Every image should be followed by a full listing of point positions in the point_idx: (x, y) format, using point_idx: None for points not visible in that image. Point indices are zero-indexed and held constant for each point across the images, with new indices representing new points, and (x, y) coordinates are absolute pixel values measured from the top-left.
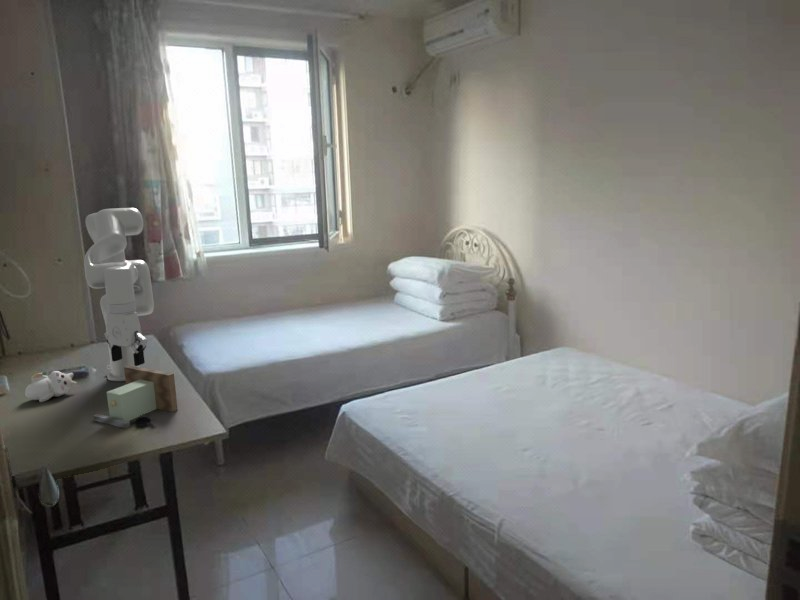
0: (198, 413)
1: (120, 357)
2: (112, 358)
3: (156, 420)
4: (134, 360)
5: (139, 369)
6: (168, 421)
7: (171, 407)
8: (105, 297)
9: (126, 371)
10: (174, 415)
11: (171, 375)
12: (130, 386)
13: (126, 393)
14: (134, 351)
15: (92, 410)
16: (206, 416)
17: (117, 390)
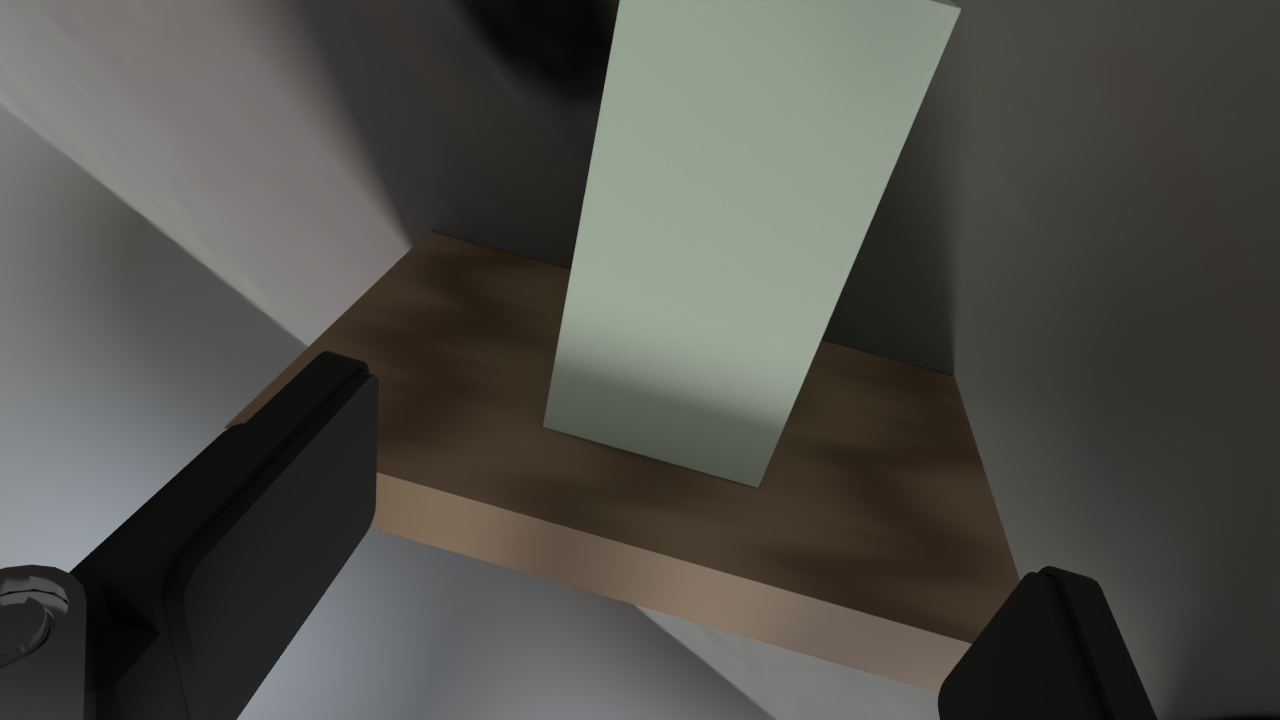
0: (229, 234)
1: (960, 700)
2: (1101, 627)
3: (427, 42)
4: (279, 429)
5: (759, 594)
6: (312, 41)
7: (419, 248)
8: None
9: (990, 606)
10: (366, 172)
11: None
12: (719, 273)
13: (615, 41)
14: (66, 640)
15: (1254, 169)
16: (130, 190)
17: (810, 103)
